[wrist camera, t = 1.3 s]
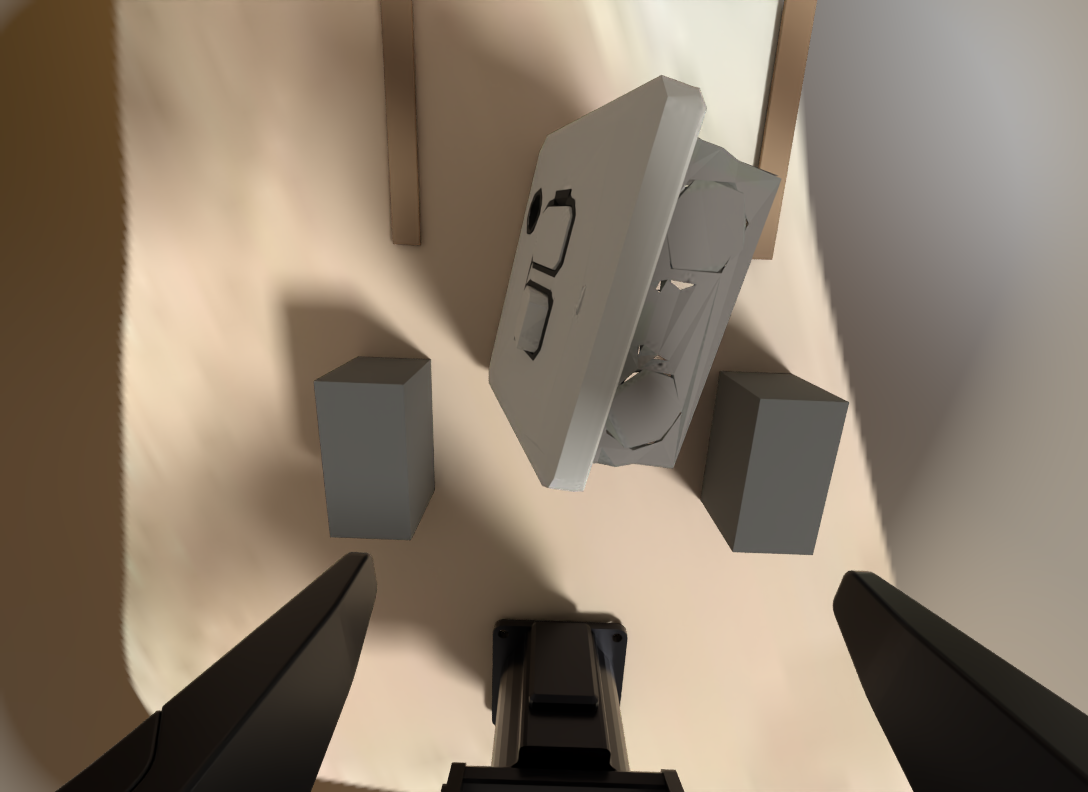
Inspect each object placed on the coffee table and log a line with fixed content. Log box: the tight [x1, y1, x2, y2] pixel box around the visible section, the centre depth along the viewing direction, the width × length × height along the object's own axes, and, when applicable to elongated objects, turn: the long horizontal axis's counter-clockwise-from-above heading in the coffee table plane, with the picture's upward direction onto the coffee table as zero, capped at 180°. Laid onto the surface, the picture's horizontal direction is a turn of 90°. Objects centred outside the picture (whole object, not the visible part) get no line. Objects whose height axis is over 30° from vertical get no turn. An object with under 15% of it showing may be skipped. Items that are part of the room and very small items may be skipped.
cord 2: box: [314, 357, 435, 540], centre depth 19 cm, size 6×3×4 cm, turn 178°
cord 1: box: [700, 371, 849, 555], centre depth 19 cm, size 6×3×4 cm, turn 178°
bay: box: [381, 0, 817, 260], centre depth 15 cm, size 12×14×3 cm
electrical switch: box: [489, 75, 782, 492], centre depth 15 cm, size 9×5×9 cm, turn 165°
